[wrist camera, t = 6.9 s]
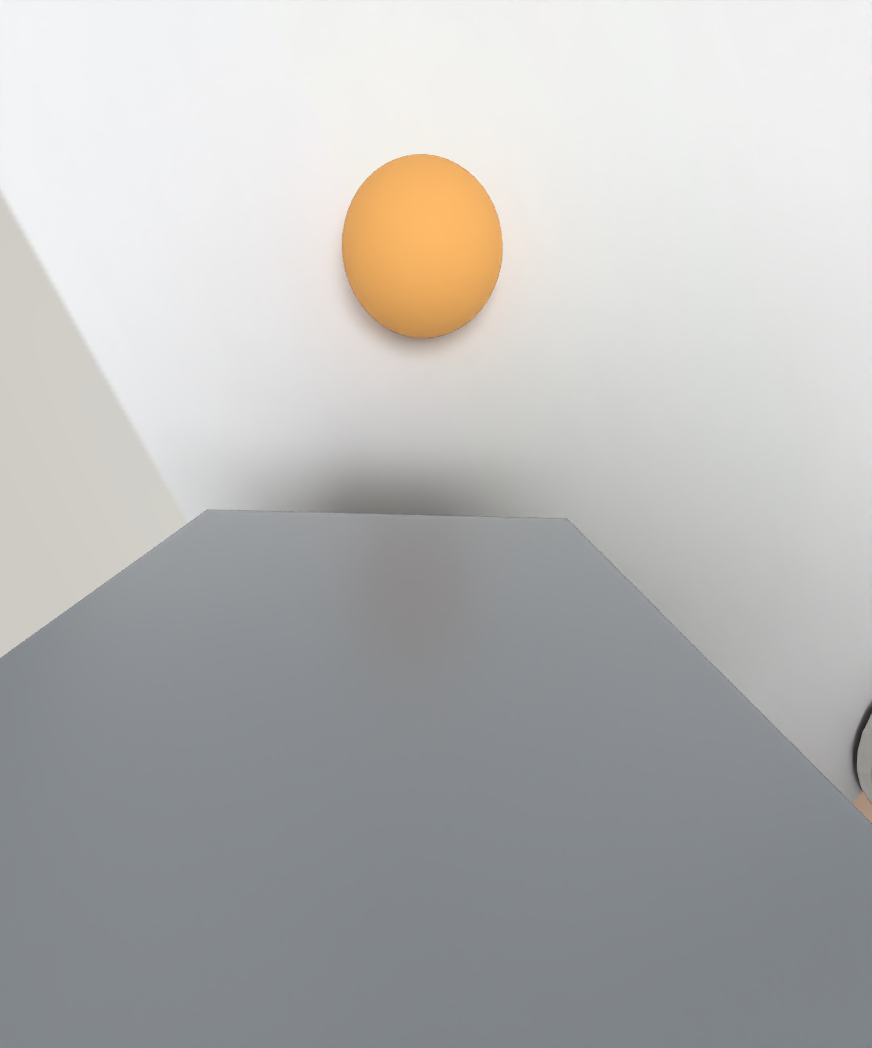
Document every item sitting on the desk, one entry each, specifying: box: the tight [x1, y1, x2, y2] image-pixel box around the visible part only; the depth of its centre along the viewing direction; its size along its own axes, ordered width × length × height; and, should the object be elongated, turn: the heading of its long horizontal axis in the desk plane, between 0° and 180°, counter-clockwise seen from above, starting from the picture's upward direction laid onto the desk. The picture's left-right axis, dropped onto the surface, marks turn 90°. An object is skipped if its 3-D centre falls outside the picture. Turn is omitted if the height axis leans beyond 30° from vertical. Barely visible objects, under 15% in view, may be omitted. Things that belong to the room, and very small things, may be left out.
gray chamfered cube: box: [0, 509, 872, 1048], centre depth 8 cm, size 8×8×9 cm
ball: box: [342, 154, 502, 338], centre depth 15 cm, size 5×5×5 cm
